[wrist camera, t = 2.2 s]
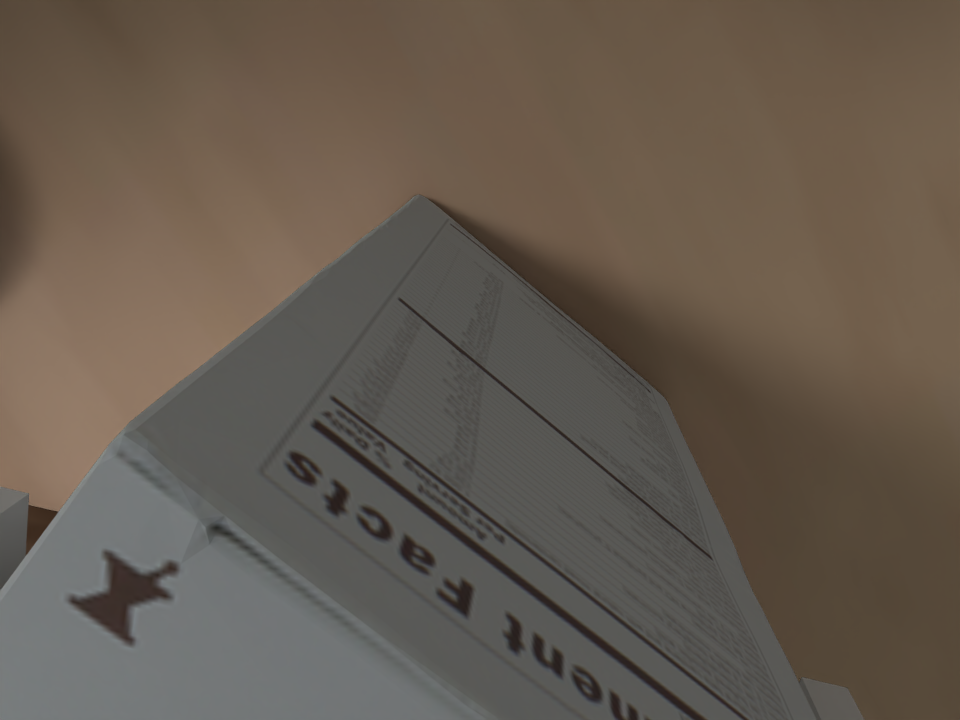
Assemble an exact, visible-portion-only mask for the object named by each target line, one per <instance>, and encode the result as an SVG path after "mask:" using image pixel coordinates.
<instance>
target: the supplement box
mask: <svg viewBox="0 0 960 720" xmlns="http://www.w3.org/2000/svg"><path fill="white" fill-rule="evenodd" d="M0 720H816V717H815V715H814V713H813V711H812V709H811V707H810V705H809V703H808V701H807V699H806V696H805V694H804V692H803V690H802V688H801V686H800V684H799V682H798V680H797V678H796V675H795V673H794V671H793V669H792V667H791V665H790V663H789V661H788V659H787V657H786V656H785V654H784V652H783V650H782V648H781V646H780V644H779V642H778V640H777V638H776V636H775V634H774V632H773V630H772V628H771V626H770V624H769V622H768V620H767V618H766V616H765V614H764V612H763V610H762V608H761V606H760V604H759V602H758V600H757V598H756V597H755V595H754V593H753V591H752V589H751V586H750V584H749V582H748V579H747V577H746V575H745V572H744V570H743V567H742V565H741V562H740V559H739V557H738V554H737V551H736V549H735V546H734V544H733V542H732V539H731V537H730V535H729V533H728V530H727V528H726V526H725V524H724V521H723V519H722V517H721V515H720V513H719V511H718V509H717V507H716V504H715V502H714V500H713V498H712V496H711V494H710V492H709V490H708V487H707V485H706V483H705V481H704V479H703V477H702V475H701V473H700V471H699V468H698V466H697V464H696V462H695V460H694V458H693V456H692V454H691V452H690V450H689V448H688V445H687V443H686V441H685V439H684V437H683V435H682V432H681V430H680V428H679V426H678V424H677V422H676V420H675V418H674V415H673V413H672V411H671V409H670V406H669V404H668V402H667V400H666V399H665V398H664V397H663V396H662V395H661V394H660V393H659V392H658V391H657V390H656V389H654V388H653V387H652V386H651V385H650V384H649V383H648V382H647V381H646V380H644V379H643V378H642V377H641V376H640V375H638V374H637V373H636V372H635V371H634V370H633V369H631V368H630V367H629V366H628V365H627V364H626V363H624V362H623V361H622V360H621V359H620V358H618V357H617V356H616V355H615V354H614V353H613V352H611V351H610V350H609V349H608V348H607V347H605V346H604V345H603V344H602V343H601V342H600V341H598V340H597V339H596V338H595V337H593V336H592V335H591V334H590V333H589V332H587V331H586V330H585V329H584V328H582V327H581V326H580V325H579V324H578V323H576V322H575V321H574V320H573V319H571V318H570V317H569V316H568V315H567V314H565V313H564V312H563V311H562V310H560V309H559V308H558V307H557V306H555V305H554V304H553V303H552V302H551V301H549V300H548V299H547V298H546V297H545V296H544V295H542V294H541V293H540V292H539V291H538V290H536V289H535V288H534V287H533V286H532V285H530V284H529V283H528V282H527V281H526V280H524V279H523V278H522V277H521V276H520V275H518V274H517V273H516V272H515V271H514V270H512V269H511V268H510V267H509V266H508V265H507V264H505V263H504V262H503V261H502V260H501V259H499V258H498V257H497V256H496V255H495V254H493V253H492V252H491V251H490V250H489V249H487V248H486V247H485V246H484V245H483V244H482V243H480V242H479V241H478V240H477V239H476V238H474V237H473V236H472V235H471V234H470V233H468V232H467V231H466V230H465V229H464V228H463V227H461V226H460V225H459V224H458V223H457V222H455V221H454V220H453V219H452V218H451V217H450V216H448V215H447V214H446V213H445V212H444V211H442V210H441V209H440V208H439V207H437V206H436V205H435V204H434V203H432V202H431V201H430V200H428V199H427V198H426V197H424V196H422V195H420V194H419V195H416V196H414V197H413V198H412V199H411V200H410V201H409V202H407V203H406V204H405V205H404V206H402V207H401V208H400V209H399V210H397V211H396V212H395V213H394V214H393V215H391V216H390V217H389V218H388V219H386V220H385V221H384V222H383V223H381V224H380V225H379V226H377V227H376V228H375V229H373V230H372V231H371V232H369V233H368V234H367V235H365V236H364V237H363V238H361V239H360V240H359V241H358V242H356V243H355V244H354V245H353V246H351V247H350V248H349V249H348V250H347V251H346V252H345V253H343V254H342V255H341V256H340V257H339V258H337V259H336V260H335V261H333V262H332V263H330V264H329V265H327V266H326V267H325V268H323V269H322V270H321V271H320V272H318V273H317V274H316V275H315V276H313V277H312V278H311V279H310V280H308V281H307V282H306V283H305V284H303V285H302V286H301V287H300V288H298V289H297V290H296V291H295V292H294V293H292V294H291V295H290V296H289V297H288V298H286V299H285V300H284V301H283V302H282V303H280V304H279V305H278V306H277V307H276V308H274V309H273V310H272V311H271V312H270V313H268V314H267V315H266V316H264V317H263V318H262V319H260V320H259V321H258V322H257V323H255V324H254V325H253V326H251V327H250V328H249V329H248V330H246V331H245V332H244V333H242V334H241V335H240V336H239V337H237V338H236V339H235V340H233V341H232V342H231V343H230V344H228V345H227V346H226V347H224V348H223V349H222V350H221V351H219V352H218V353H217V354H216V355H214V356H213V357H212V358H210V359H209V360H208V361H207V362H205V363H204V364H203V365H202V366H200V367H199V368H198V369H197V370H195V371H194V372H193V373H191V374H190V375H189V376H187V377H186V378H185V379H183V380H182V381H180V382H179V383H178V384H176V385H175V386H174V387H173V388H171V389H170V390H169V391H168V392H167V393H165V394H164V395H163V396H162V397H160V398H159V399H158V400H157V401H155V402H154V403H153V404H152V405H150V406H149V407H148V408H147V409H145V410H144V411H143V412H142V413H140V414H139V415H138V416H137V417H135V418H134V419H133V420H132V421H130V422H129V423H128V424H127V426H126V427H125V428H124V429H123V430H122V431H121V432H120V433H119V434H118V435H117V436H116V438H115V439H114V440H113V441H112V442H111V443H110V444H109V445H108V447H107V448H106V449H105V451H104V452H103V453H102V455H101V456H100V457H99V459H98V460H97V461H96V463H95V464H94V465H93V467H92V468H91V469H90V471H89V472H88V473H87V475H86V476H85V477H84V479H83V480H82V481H81V483H80V484H79V485H78V487H77V488H76V489H75V491H74V492H73V493H72V495H71V496H70V497H69V499H68V500H67V501H66V503H65V504H64V505H63V507H62V508H61V509H60V511H59V512H58V513H57V515H56V516H55V518H54V519H53V520H52V522H51V523H50V524H49V526H48V527H47V528H46V530H45V531H44V532H43V534H42V535H41V536H40V538H39V539H38V540H37V542H36V543H35V545H34V546H33V547H32V549H31V550H30V551H29V553H28V554H27V555H26V557H25V558H24V559H23V561H22V562H21V563H20V565H19V566H18V567H17V569H16V570H15V572H14V573H13V574H12V576H11V577H10V578H9V580H8V581H7V582H6V584H5V585H4V586H3V588H2V589H1V590H0Z"/></svg>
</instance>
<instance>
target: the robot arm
mask: <svg viewBox="0 0 960 720" xmlns="http://www.w3.org/2000/svg"><path fill="white" fill-rule="evenodd" d="M28 503H29V493H25V492H21V491H16V490H12V489H8V488H4V487H0V590H1V589H2V588H3V586H4V585H5V584H6V582H7V581H8V580H9V578H10V577H11V576H12V574H13V573H14V572H15V570H16V569H17V567H18V566H19V565H20V563H21V562H22V561H23V559H24V558H25V556H26V539H27V521H28ZM799 684H800V686H801V688H802V690H803V692H804V694H805V696H806V699H807V701H808V703H809V705H810V707H811V709H812V711H813V713H814V715H815V717H816V720H864V718H863V716H862V714H861V712H860V711H859V709H858V707H857V705H856V703H855V701H854V699H853V697H852V696H851V694H850V692H849V690H848V688H846V687H842V686H837V685H833V684H829V683H825V682H821V681H816V680H812V679H808V678H804V677H801V680H800V682H799Z"/></svg>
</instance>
